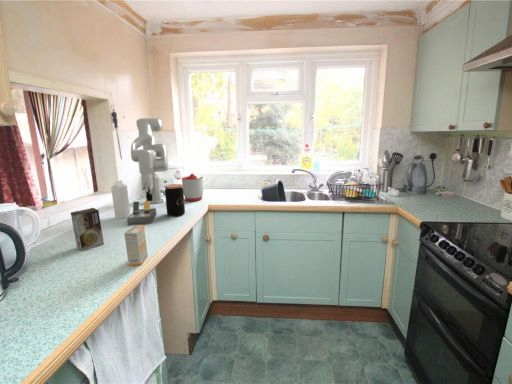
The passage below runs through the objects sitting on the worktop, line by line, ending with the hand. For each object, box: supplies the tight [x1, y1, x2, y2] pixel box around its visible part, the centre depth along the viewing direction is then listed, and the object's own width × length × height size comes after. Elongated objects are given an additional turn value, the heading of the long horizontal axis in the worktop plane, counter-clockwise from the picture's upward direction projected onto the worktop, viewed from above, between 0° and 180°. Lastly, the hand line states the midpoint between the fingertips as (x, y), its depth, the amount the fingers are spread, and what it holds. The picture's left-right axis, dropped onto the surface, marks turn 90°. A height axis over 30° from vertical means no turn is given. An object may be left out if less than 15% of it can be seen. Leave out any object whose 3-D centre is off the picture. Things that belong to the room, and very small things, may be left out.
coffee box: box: [70, 207, 105, 252], centre depth 116 cm, size 9×6×16 cm
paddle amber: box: [143, 200, 151, 213], centre depth 155 cm, size 2×3×7 cm, turn 101°
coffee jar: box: [164, 183, 186, 218], centre depth 162 cm, size 11×11×18 cm
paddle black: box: [132, 201, 140, 213], centre depth 154 cm, size 2×3×7 cm, turn 101°
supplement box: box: [123, 224, 148, 267], centre depth 101 cm, size 8×5×13 cm, turn 5°
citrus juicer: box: [181, 173, 204, 202], centre depth 200 cm, size 16×17×20 cm
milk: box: [110, 180, 131, 220], centre depth 157 cm, size 6×6×22 cm
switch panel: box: [126, 207, 158, 226], centre depth 154 cm, size 18×12×4 cm, turn 11°
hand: (149, 200), depth 163 cm, fingers closed
